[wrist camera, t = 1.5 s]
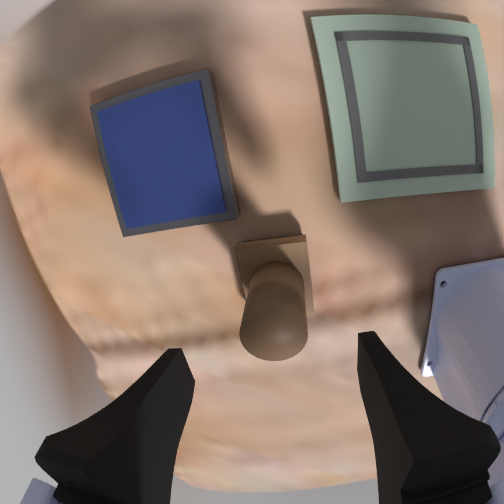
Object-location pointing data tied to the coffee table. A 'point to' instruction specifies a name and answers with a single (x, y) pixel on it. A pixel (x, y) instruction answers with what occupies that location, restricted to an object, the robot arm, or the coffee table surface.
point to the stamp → (275, 296)
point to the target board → (406, 105)
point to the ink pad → (166, 155)
